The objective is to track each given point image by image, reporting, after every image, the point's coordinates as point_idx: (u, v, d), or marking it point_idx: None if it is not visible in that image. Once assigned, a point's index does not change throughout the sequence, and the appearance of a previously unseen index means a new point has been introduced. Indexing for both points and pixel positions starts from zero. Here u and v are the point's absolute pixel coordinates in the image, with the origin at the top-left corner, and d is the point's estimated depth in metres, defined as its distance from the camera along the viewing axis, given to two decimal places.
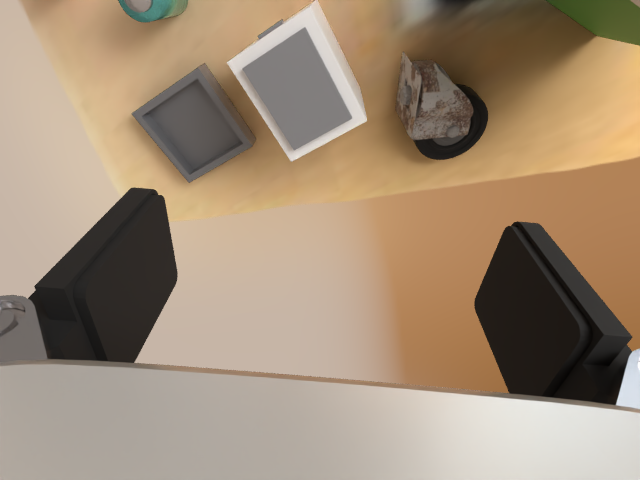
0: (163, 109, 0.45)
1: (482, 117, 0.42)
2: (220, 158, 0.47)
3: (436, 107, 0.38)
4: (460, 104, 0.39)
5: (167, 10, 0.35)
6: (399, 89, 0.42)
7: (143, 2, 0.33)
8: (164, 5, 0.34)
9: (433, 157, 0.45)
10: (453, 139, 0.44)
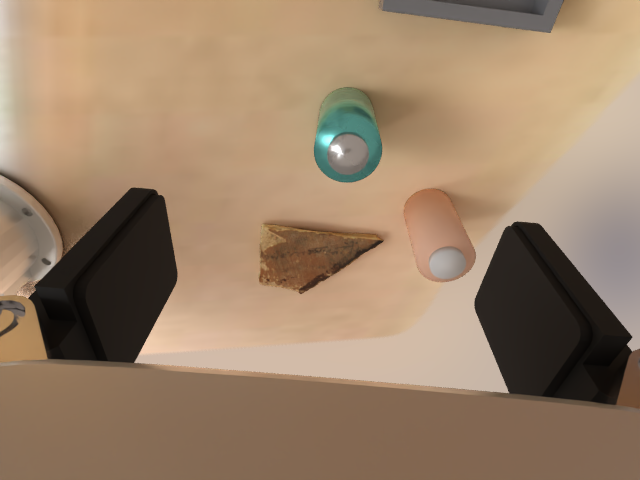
0: None
1: None
2: None
3: None
4: None
5: (338, 110, 0.23)
6: None
7: (345, 144, 0.22)
8: (330, 119, 0.22)
9: None
10: None
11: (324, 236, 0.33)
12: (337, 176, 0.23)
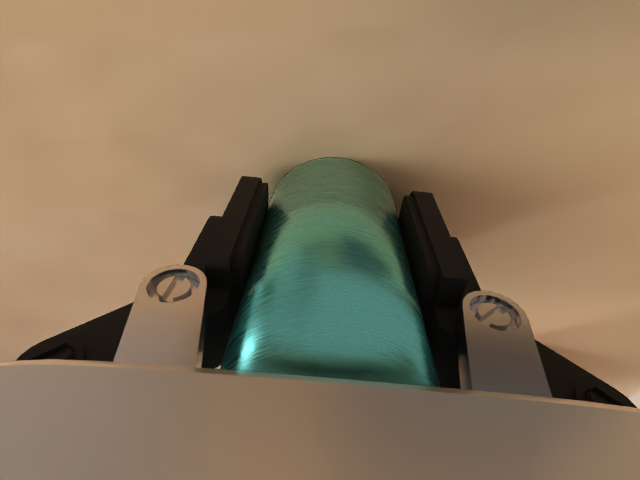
0: None
1: None
2: None
3: None
4: None
5: (292, 279, 0.07)
6: None
7: None
8: (258, 332, 0.06)
9: None
10: None
11: None
12: None
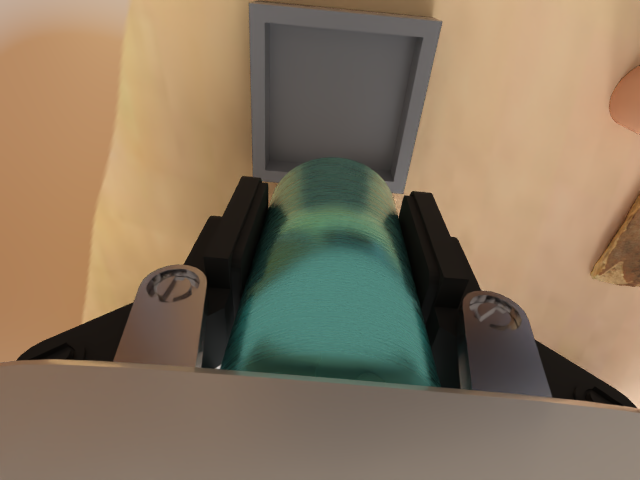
0: (398, 68, 0.23)
1: None
2: (262, 114, 0.23)
3: None
4: None
5: (292, 279, 0.07)
6: None
7: None
8: (258, 333, 0.06)
9: None
10: None
11: (632, 223, 0.28)
12: None
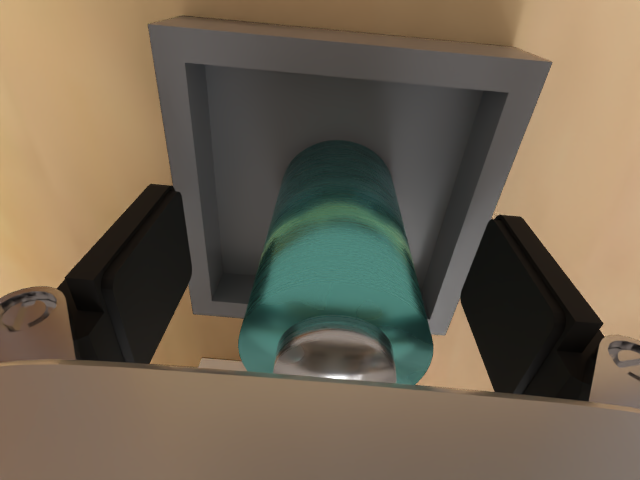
0: (446, 138, 0.12)
1: None
2: (197, 221, 0.13)
3: None
4: None
5: (305, 235, 0.08)
6: None
7: (325, 359, 0.07)
8: (280, 274, 0.07)
9: None
10: None
11: None
12: None
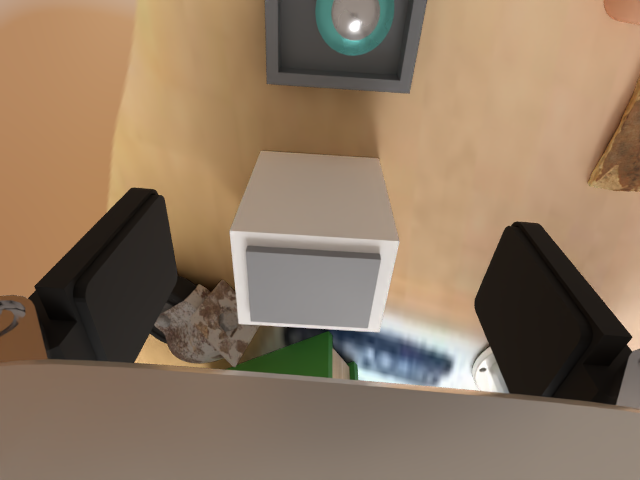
0: None
1: (156, 335, 0.42)
2: (275, 11, 0.24)
3: (200, 348, 0.38)
4: (185, 354, 0.39)
5: None
6: (236, 301, 0.41)
7: None
8: None
9: None
10: None
11: (627, 123, 0.29)
12: (345, 48, 0.20)
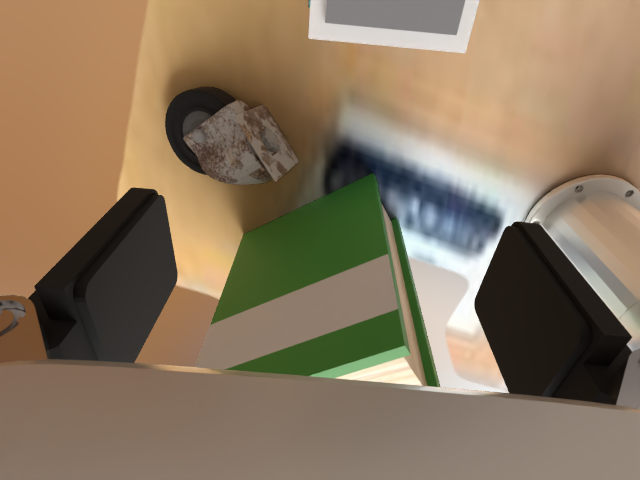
0: None
1: (187, 160, 0.39)
2: None
3: (239, 160, 0.35)
4: (220, 172, 0.36)
5: None
6: (276, 129, 0.39)
7: None
8: None
9: (188, 93, 0.35)
10: (189, 125, 0.37)
11: None
12: None
